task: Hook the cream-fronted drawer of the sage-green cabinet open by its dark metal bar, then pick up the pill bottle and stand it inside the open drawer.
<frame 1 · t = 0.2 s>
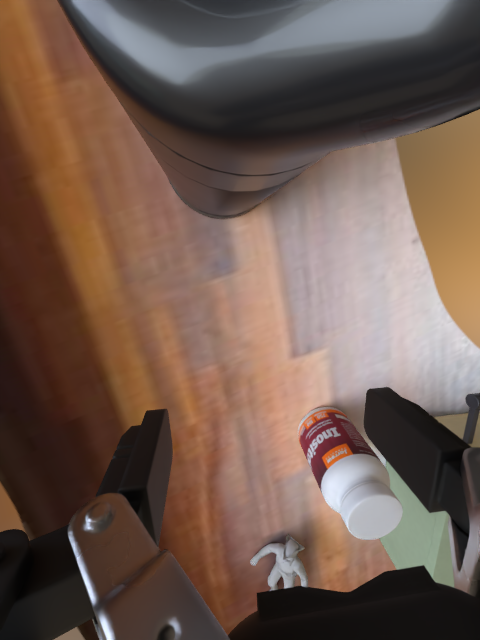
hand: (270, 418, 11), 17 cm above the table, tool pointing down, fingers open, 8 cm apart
pill bottle: (321, 426, 33), on the table
drawer: (474, 471, 31), point 4 cm above the table, slide at 1.0 cm
cabinet: (435, 479, 37), on the table
soldier figure: (279, 556, 38), on the table
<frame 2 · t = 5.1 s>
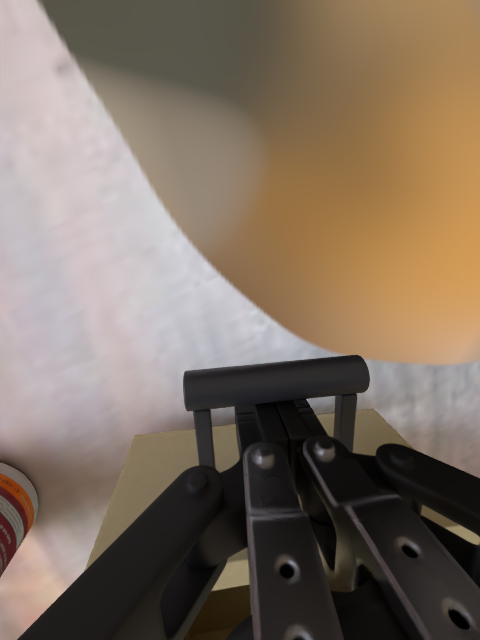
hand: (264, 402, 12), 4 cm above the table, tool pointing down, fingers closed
drawer: (274, 551, 14), point 4 cm above the table, slide at 4.2 cm, touching gripper
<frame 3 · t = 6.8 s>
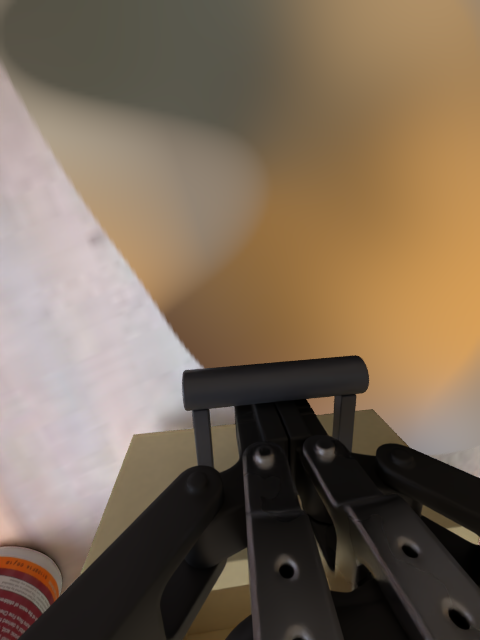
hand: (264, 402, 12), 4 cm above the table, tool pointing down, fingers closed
pill bottle: (16, 573, 18), on the table
drawer: (272, 551, 14), point 4 cm above the table, slide at 10.9 cm, touching gripper
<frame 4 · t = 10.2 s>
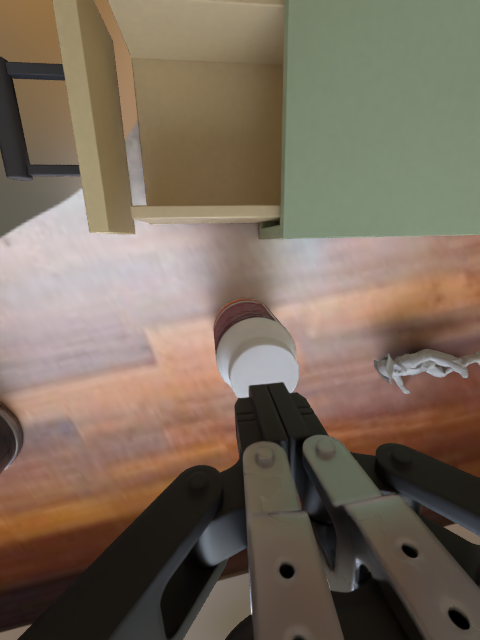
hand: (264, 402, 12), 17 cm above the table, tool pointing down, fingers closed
pill bottle: (243, 325, 29), on the table
drawer: (168, 130, 20), point 4 cm above the table, slide at 11.1 cm
cabinet: (350, 152, 25), on the table
soldier figure: (415, 358, 32), on the table
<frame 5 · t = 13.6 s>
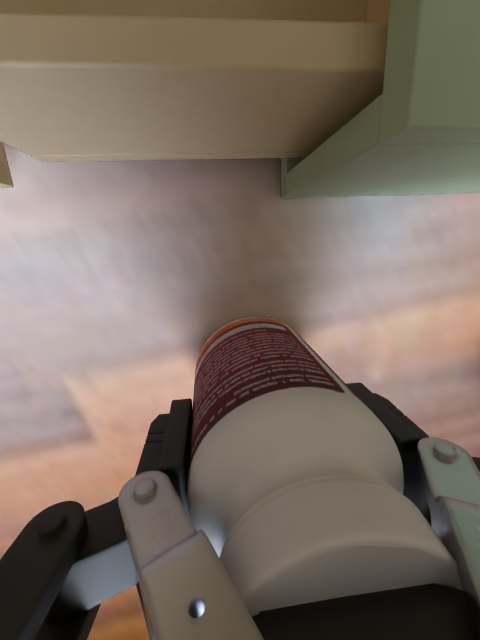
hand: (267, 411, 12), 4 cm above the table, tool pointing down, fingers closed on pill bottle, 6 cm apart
pill bottle: (252, 365, 16), on the table, touching gripper
cabinet: (472, 6, 12), on the table
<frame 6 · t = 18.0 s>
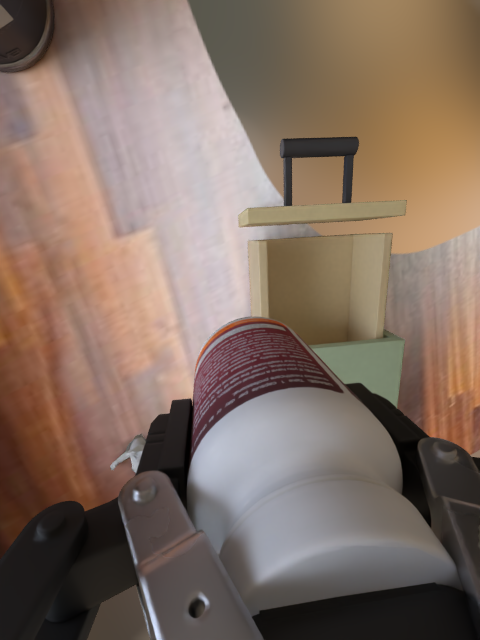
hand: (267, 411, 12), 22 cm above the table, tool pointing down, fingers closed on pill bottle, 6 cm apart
pill bottle: (251, 365, 16), point 17 cm above the table, touching gripper
drawer: (313, 263, 28), point 4 cm above the table, slide at 11.1 cm
cabinet: (298, 382, 36), on the table
soldier figure: (145, 465, 37), on the table
when the fingers open (6 cm above the table, at t = 22.8 s): pill bottle stays where it is, resting on drawer.
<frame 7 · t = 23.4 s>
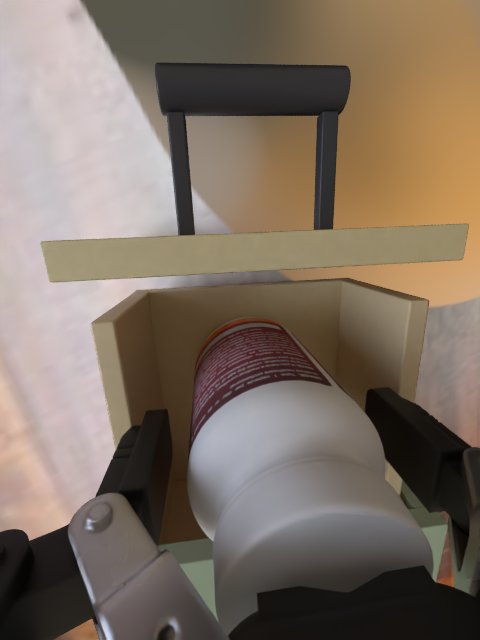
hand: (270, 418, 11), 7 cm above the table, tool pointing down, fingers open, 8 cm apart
pill bottle: (249, 363, 16), point 2 cm above the table, touching drawer
drawer: (256, 344, 13), point 4 cm above the table, slide at 11.0 cm, touching pill bottle
cabinet: (252, 509, 22), on the table
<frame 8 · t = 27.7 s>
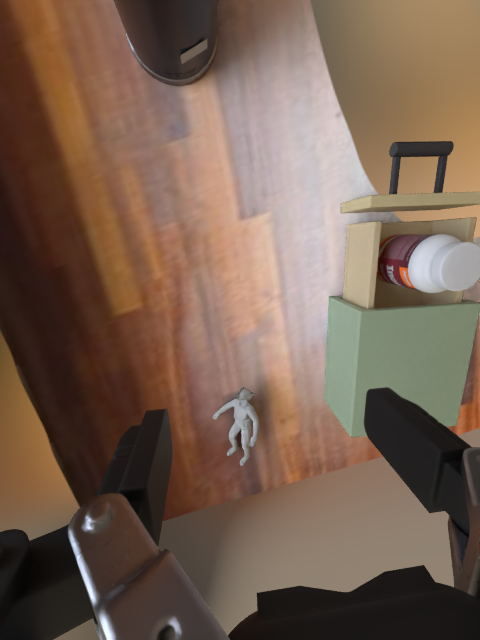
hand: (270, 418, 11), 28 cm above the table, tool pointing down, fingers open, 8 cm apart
pill bottle: (389, 259, 37), point 2 cm above the table, touching drawer
drawer: (404, 242, 34), point 4 cm above the table, slide at 11.0 cm, touching pill bottle
cabinet: (372, 347, 43), on the table
soldier figure: (239, 417, 44), on the table
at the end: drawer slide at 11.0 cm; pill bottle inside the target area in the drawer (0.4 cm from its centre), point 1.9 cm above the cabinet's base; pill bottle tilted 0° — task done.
